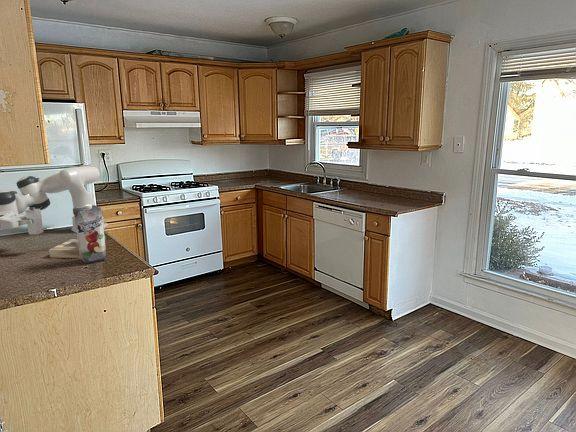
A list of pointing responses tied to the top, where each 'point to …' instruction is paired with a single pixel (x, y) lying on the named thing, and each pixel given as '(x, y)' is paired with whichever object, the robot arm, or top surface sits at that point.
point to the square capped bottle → (34, 220)
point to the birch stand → (66, 250)
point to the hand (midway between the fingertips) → (36, 220)
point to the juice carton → (90, 233)
